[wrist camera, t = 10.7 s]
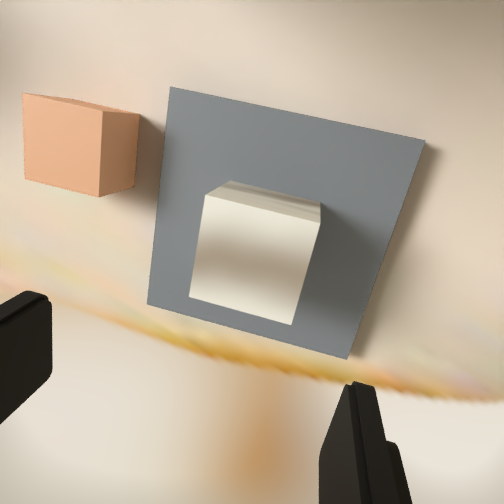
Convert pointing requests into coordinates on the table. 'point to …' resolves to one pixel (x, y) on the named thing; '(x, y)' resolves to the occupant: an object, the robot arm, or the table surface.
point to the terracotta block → (79, 145)
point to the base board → (288, 182)
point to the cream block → (254, 250)
